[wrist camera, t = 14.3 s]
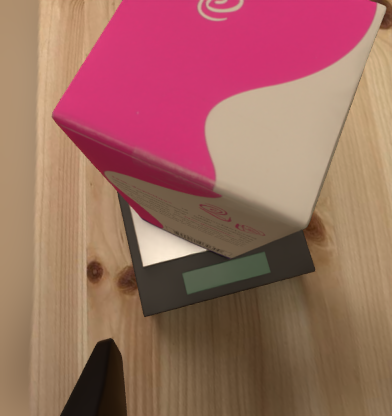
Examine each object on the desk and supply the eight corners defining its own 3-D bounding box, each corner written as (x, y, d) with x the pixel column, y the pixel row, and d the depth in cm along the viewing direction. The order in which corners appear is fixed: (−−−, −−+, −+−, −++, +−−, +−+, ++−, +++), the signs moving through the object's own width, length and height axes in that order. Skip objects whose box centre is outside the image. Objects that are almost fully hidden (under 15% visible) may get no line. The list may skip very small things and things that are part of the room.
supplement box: (270, 167, 18) (403, 1, 7) (231, 261, 17) (309, 250, 6) (180, 128, 18) (163, -91, 7) (136, 218, 17) (33, 128, 6)
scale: (301, 270, 20) (320, 271, 17) (149, 311, 19) (142, 319, 16) (249, 104, 22) (258, 79, 19) (111, 136, 21) (98, 115, 18)
